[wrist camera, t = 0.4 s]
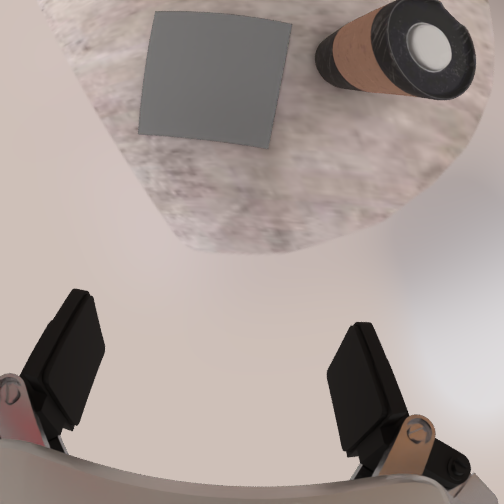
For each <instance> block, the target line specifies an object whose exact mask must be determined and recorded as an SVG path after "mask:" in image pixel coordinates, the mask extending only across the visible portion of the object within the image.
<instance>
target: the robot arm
mask: <svg viewBox="0 0 504 504" xmlns="http://www.w3.org/2000/svg"><path fill="white" fill-rule="evenodd" d="M104 353H105V344H104V340H103V336H102V333H101V328H100V324H99V320H98V316H97V312H96V308H95V303H94V298H93V296H90V294H89V292H88V291H84V290H80V289H73V290H72V291H71V292H70V294H69V295H68V297H67V298H66V300H65V301H64V303H63V305H62V306H61V308H60V309H59V311H58V312H57V314H56V316H55V317H54V319H53V320H52V321H51V322H50V323H49V324H48V325H47V327H46V329H45V330H44V332H43V334H42V336H41V338H40V339H39V341H38V343H37V344H36V346H35V348H34V350H33V351H32V353H31V355H30V357H29V359H28V361H27V362H26V365H25V366H24V368H23V370H22V372H21V374H20V376H18V375H16V374H12V373H9V374H4V375H2V376H0V504H498V500H497V498H496V496H495V495H494V493H493V492H492V491H491V490H490V489H489V488H488V487H487V486H486V485H485V484H484V483H483V482H482V481H481V479H480V478H479V477H478V476H477V475H476V474H475V473H472V474H471V473H470V471H471V467H470V463H469V460H468V459H467V457H466V456H465V455H463V454H461V453H460V452H458V451H457V450H455V449H453V448H452V447H450V446H448V445H446V444H445V443H443V442H441V441H440V440H438V439H436V438H435V435H436V434H435V428H434V426H433V424H432V422H431V421H430V420H429V419H428V418H426V417H424V416H422V415H411V416H409V413H408V411H407V408H406V405H405V402H404V400H403V397H402V394H401V392H400V389H399V387H398V384H397V381H396V379H395V376H394V374H393V371H392V369H391V366H390V364H389V361H388V359H387V358H386V355H385V353H384V350H383V348H382V346H381V343H380V341H379V339H378V336H377V334H376V332H375V329H374V327H373V325H372V323H369V322H356V323H355V324H354V325H353V326H350V327H349V329H348V331H347V333H346V335H345V337H344V340H343V341H342V343H341V345H340V347H339V349H338V351H337V353H336V355H335V357H334V359H333V361H332V363H331V364H330V366H329V368H328V370H327V381H328V385H329V389H330V394H331V398H332V403H333V408H334V412H335V417H336V422H337V426H338V431H339V436H340V441H341V446H342V449H343V451H346V453H347V457H355V456H359V460H360V464H359V466H358V467H357V469H356V471H355V472H354V474H353V475H352V477H351V479H350V480H349V481H340V482H332V483H323V484H313V485H300V486H277V487H244V486H223V485H208V484H198V483H190V482H182V481H175V480H168V479H162V478H156V477H151V476H146V475H141V474H136V473H132V472H127V471H123V470H119V469H115V468H111V467H108V466H104V465H100V464H97V463H93V462H90V461H87V460H83V459H80V458H77V457H74V456H71V455H69V454H68V452H67V450H66V448H65V446H64V443H63V441H62V439H61V436H60V435H61V432H62V429H63V428H65V429H67V430H71V431H73V429H74V426H75V425H76V426H77V425H78V424H79V422H80V419H81V416H82V413H83V410H84V407H85V405H86V402H87V399H88V396H89V393H90V390H91V387H92V385H93V382H94V379H95V376H96V374H97V371H98V368H99V366H100V363H101V360H102V358H103V356H104Z"/></svg>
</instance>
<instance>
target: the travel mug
mask: <svg viewBox="0 0 504 504" xmlns="http://www.w3.org/2000/svg"><path fill="white" fill-rule="evenodd" d="M315 61H316V66H317V69H318V71H319V73H320V74H321V76H322V77H323V78H324V79H325V80H326V81H327V82H329V83H330V84H332V85H334V86H336V87H339V88H344V89H351V90H358V91H365V92H372V93H385V94H396V95H405V96H413V97H421V98H428V99H434V100H450V99H454V98H456V97H458V96H460V95H462V94H463V93H464V92H465V91H466V90H467V89H468V88H469V86H470V85H471V83H472V81H473V78H474V75H475V70H476V54H475V49H474V45H473V41H472V39H471V36H470V34H469V32H468V30H467V29H466V27H465V26H463V25H462V24H460V23H459V22H458V21H457V20H456V19H455V18H454V17H453V16H452V15H451V14H450V13H449V12H448V11H447V10H446V9H445V8H444V7H443V5H442V3H441V2H440V1H438V0H396V1H394V2H392V3H389V4H387V5H385V6H383V7H381V8H378V9H376V10H374V11H372V12H370V13H368V14H366V15H364V16H362V17H360V18H358V19H356V20H354V21H352V22H350V23H348V24H346V25H345V26H343V27H342V28H340V29H339V30H337V31H336V32H334V33H333V34H332V35H330V36H329V37H327V38H326V39H325V40H324V41H323V42H322V43H321V44H320V45H319V47H318V48H317V51H316V56H315Z"/></svg>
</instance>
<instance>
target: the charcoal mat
mask: <svg viewBox="0 0 504 504" xmlns="http://www.w3.org/2000/svg"><path fill="white" fill-rule="evenodd" d="M291 28H292V24H289V23H284V22H279V21H274V20H268V19H262V18H256V17H249V16H241V15H232V14H222V13H210V12H190V11H155V15H154V20H153V25H152V30H151V36H150V41H149V47H148V53H147V59H146V66H145V73H144V81H143V89H142V97H141V107H140V117H139V129H138V134H141V135H157V136H169V137H181V138H191V139H200V140H209V141H217V142H225V143H233V144H240V145H246V146H253V147H259V148H265V149H268V148H269V143H270V137H271V132H272V127H273V122H274V116H275V111H276V106H277V101H278V95H279V90H280V85H281V80H282V75H283V69H284V64H285V59H286V54H287V49H288V44H289V38H290V33H291Z"/></svg>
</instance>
